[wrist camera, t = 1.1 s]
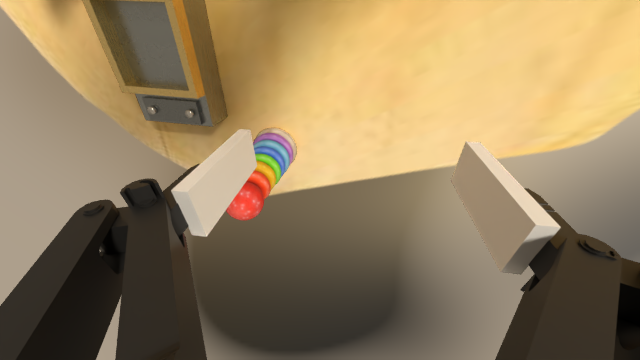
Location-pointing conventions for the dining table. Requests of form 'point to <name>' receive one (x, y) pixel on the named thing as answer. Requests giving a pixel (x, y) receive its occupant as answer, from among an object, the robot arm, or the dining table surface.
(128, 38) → the gray gold-framed box
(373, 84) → the dining table surface
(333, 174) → the dining table surface
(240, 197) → the stacking toy
